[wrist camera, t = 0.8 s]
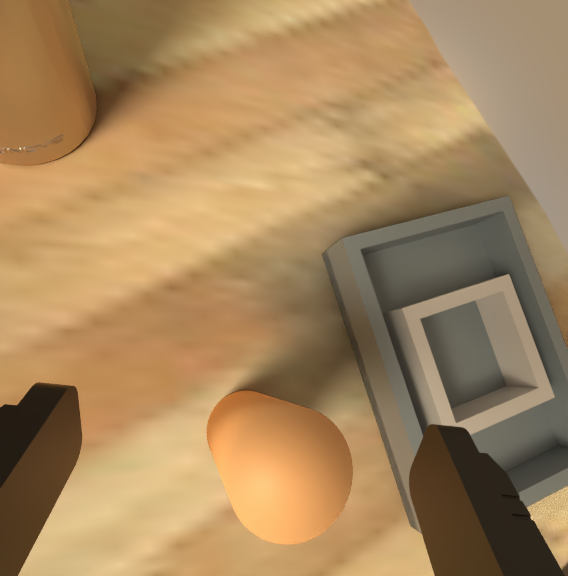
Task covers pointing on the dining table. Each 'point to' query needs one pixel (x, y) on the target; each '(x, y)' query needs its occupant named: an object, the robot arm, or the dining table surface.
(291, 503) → the rounded orange object
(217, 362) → the dining table surface
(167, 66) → the dining table surface
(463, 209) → the walled box
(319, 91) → the dining table surface
